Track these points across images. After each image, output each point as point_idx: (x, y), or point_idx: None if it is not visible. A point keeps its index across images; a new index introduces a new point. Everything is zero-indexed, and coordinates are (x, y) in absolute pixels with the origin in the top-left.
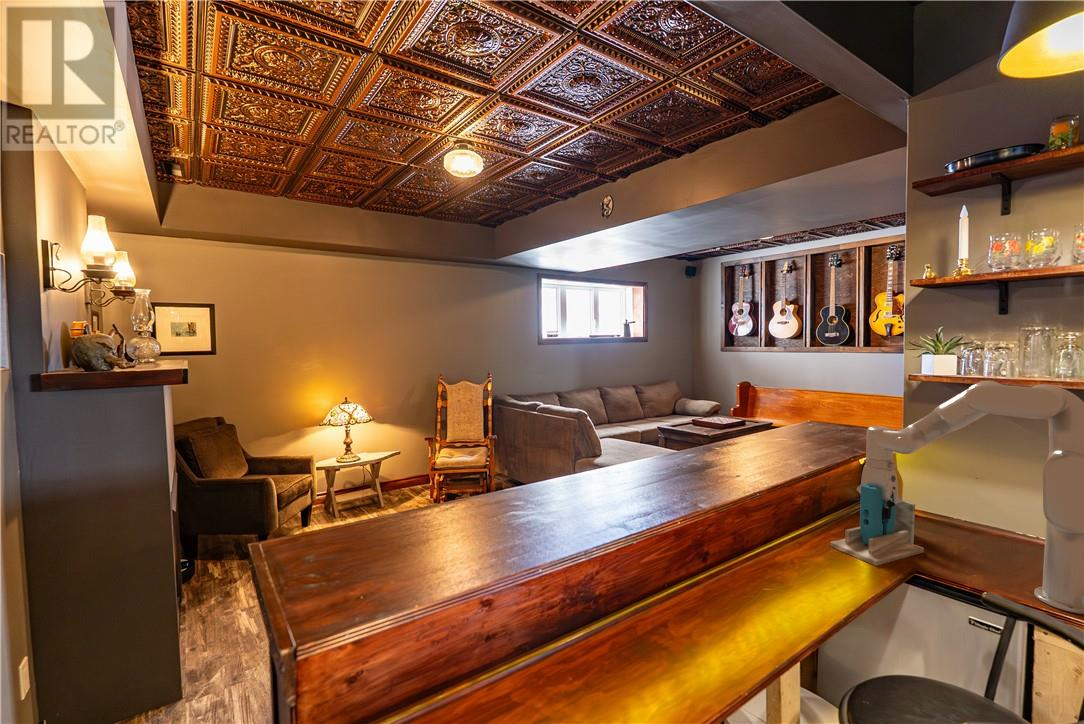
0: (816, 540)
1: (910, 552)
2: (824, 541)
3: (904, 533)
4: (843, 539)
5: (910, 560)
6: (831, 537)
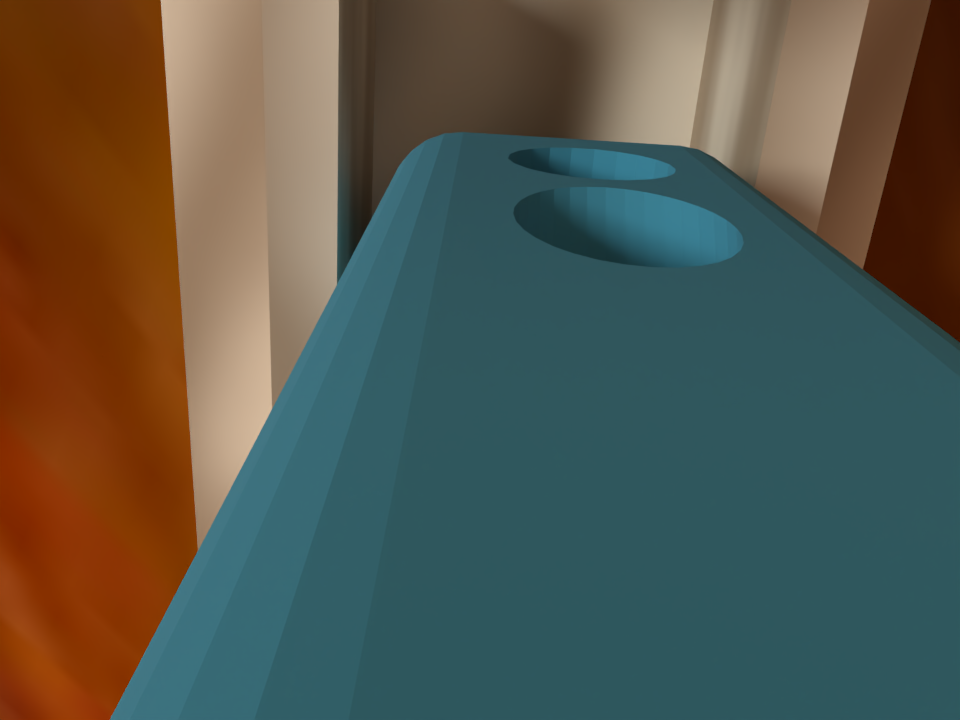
0: (49, 651)
1: (887, 160)
2: (100, 608)
3: (843, 75)
4: (210, 526)
5: (908, 276)
6: (30, 451)
